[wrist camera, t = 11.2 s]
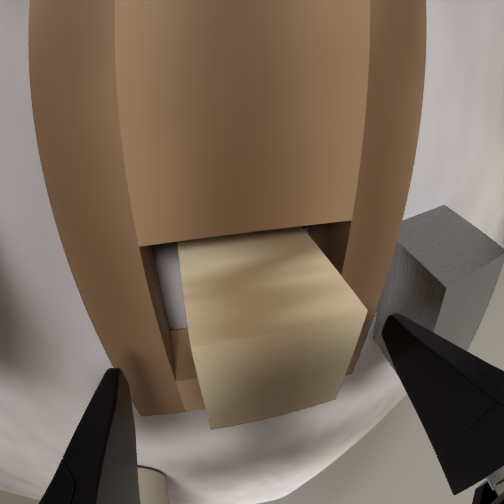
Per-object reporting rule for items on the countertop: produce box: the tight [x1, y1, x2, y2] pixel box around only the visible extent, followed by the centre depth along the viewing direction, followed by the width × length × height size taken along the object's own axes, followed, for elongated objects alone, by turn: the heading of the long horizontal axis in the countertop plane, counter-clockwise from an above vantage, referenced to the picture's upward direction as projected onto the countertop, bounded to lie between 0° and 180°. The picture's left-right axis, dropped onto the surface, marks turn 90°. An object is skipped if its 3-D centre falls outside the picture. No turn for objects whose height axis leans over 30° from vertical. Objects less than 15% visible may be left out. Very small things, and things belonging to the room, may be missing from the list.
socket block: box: [29, 0, 426, 416], centre depth 11 cm, size 11×17×3 cm, turn 0°
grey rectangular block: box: [374, 205, 504, 375], centre depth 15 cm, size 4×9×5 cm, turn 13°
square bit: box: [177, 226, 368, 430], centre depth 11 cm, size 4×4×6 cm
